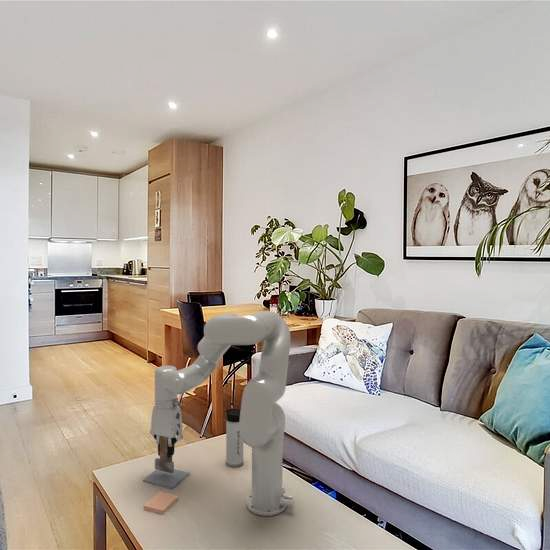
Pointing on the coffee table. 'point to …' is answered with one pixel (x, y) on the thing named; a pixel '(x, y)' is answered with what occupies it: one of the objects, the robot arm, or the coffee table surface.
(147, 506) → the tile
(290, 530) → the coffee table surface
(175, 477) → the mat
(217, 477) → the coffee table surface
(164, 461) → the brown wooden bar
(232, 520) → the coffee table surface
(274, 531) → the coffee table surface
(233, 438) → the travel mug
